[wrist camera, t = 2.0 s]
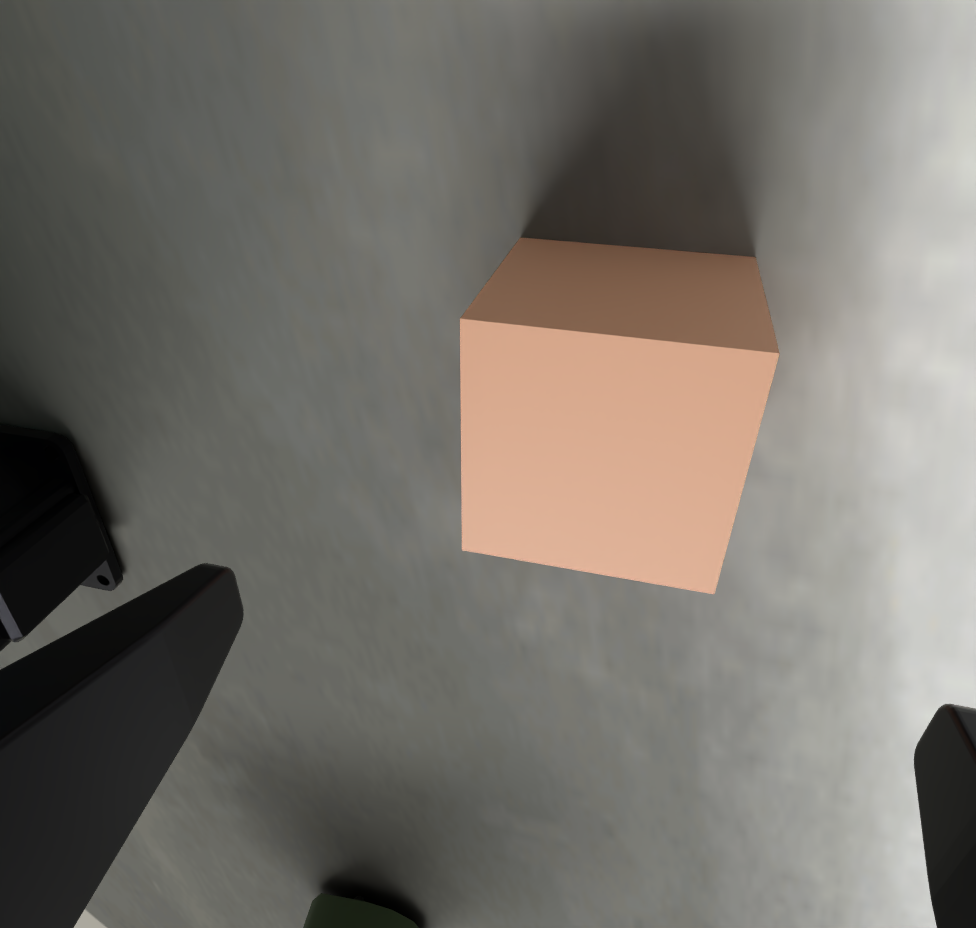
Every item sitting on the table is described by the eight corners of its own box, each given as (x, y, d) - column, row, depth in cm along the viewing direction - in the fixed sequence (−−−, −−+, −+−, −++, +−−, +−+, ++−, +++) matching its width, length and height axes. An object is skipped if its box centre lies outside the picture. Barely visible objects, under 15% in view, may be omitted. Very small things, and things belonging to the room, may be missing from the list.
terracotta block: (513, 429, 18) (462, 549, 14) (521, 236, 15) (460, 318, 11) (709, 455, 17) (714, 594, 13) (755, 255, 14) (779, 353, 10)
